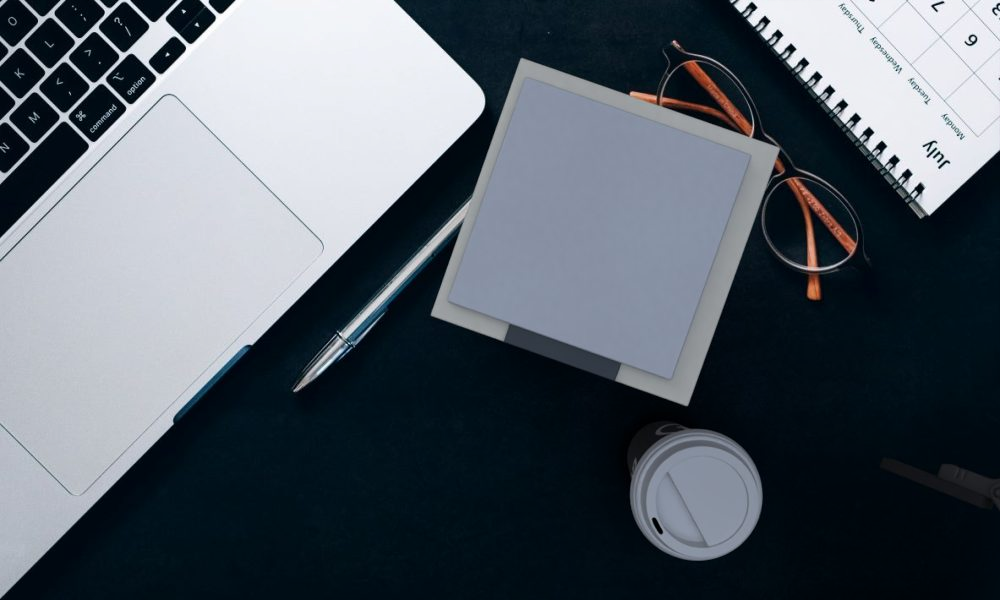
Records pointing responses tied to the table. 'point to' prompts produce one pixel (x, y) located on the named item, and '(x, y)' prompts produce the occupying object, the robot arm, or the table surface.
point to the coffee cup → (692, 490)
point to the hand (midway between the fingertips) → (854, 553)
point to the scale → (604, 231)
